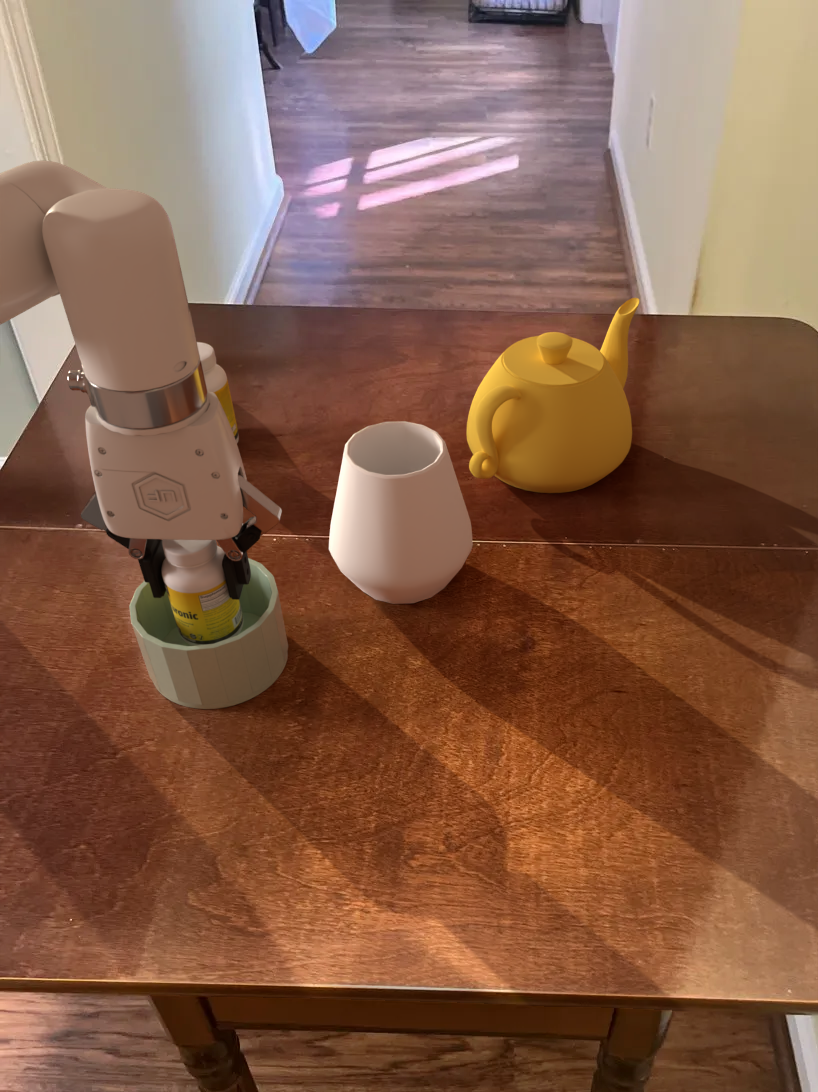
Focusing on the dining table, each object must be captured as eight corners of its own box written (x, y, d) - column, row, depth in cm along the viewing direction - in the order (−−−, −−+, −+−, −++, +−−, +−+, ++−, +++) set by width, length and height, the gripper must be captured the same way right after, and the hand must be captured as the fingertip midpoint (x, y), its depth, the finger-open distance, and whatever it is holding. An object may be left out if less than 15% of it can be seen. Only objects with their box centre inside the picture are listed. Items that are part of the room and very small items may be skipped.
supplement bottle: (167, 625, 83) (140, 534, 76) (224, 598, 86) (202, 507, 79) (198, 660, 80) (173, 569, 73) (256, 631, 83) (237, 540, 76)
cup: (316, 611, 90) (297, 486, 80) (350, 522, 99) (337, 400, 89) (461, 626, 88) (460, 501, 78) (482, 534, 98) (483, 412, 88)
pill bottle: (250, 436, 110) (233, 345, 102) (218, 465, 106) (197, 372, 98) (205, 423, 112) (185, 333, 104) (171, 451, 108) (147, 359, 100)
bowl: (133, 708, 81) (111, 648, 76) (169, 610, 90) (151, 550, 85) (275, 711, 81) (262, 652, 76) (298, 612, 89) (288, 553, 85)
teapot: (568, 379, 119) (577, 269, 109) (687, 437, 110) (708, 323, 101) (416, 462, 106) (410, 346, 97) (536, 535, 98) (543, 415, 88)
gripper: (3, 415, 64) (81, 617, 77) (264, 420, 64) (299, 621, 77) (42, 358, 70) (109, 555, 82) (283, 362, 69) (313, 559, 82)
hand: (200, 585), depth 79 cm, fingers closed on supplement bottle, 5 cm apart
